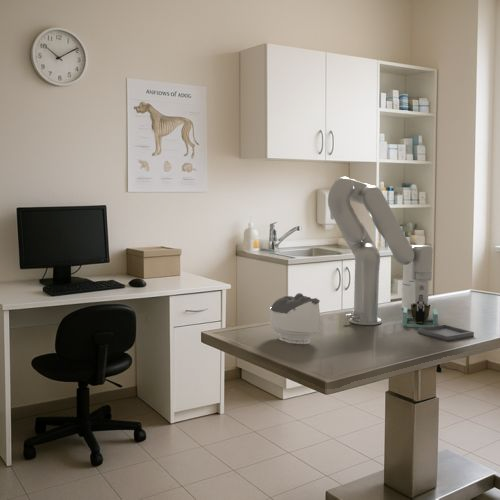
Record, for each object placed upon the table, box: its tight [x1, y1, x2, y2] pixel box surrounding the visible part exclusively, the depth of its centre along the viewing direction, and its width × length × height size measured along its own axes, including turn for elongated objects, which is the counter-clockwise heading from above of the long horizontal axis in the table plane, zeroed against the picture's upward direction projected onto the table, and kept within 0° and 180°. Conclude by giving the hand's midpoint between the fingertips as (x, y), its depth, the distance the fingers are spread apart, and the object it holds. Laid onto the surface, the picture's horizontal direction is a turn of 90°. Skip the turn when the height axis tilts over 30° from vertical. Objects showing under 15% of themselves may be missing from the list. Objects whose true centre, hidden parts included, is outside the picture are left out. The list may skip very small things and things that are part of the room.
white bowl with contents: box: [269, 292, 321, 345], centre depth 217 cm, size 13×17×20 cm
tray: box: [417, 323, 475, 342], centre depth 228 cm, size 14×14×2 cm
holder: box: [402, 307, 439, 328], centre depth 244 cm, size 12×13×6 cm
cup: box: [410, 303, 431, 325], centre depth 244 cm, size 8×7×8 cm
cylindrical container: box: [401, 262, 415, 310], centre depth 274 cm, size 7×7×25 cm
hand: (420, 318), depth 244 cm, fingers open, 9 cm apart
